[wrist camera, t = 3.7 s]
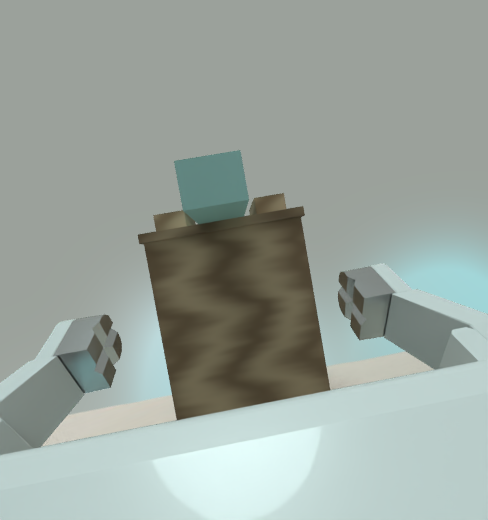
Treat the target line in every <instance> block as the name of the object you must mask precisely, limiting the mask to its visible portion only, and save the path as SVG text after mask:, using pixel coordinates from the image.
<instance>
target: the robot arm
mask: <svg viewBox="0 0 488 520" xmlns="http://www.w3.org/2000/svg"><path fill="white" fill-rule="evenodd" d="M339 283H340V284H341V285H342V287H341V289H340V290H339V291H338V301H339V306H340V309H341V311H342V313H343V315H344V316H345V317H346V318H348V319H350V320H351V325H350V326H351V328H352V329H353V331H354V333H355V334H356V336H357V337H358V339H359V340H364V339H371V338H376V337H383V336H384V338H386V339H388V340H389V341H391V342H392V343H394V344H395V345H397V346H398V347H400V348H402V349H403V350H405V351H406V352H408V353H409V354H411V355H413V356H414V357H416V358H417V359H419V360H420V361H422V362H424V363H425V364H427V365H428V366H430V367H431V368H433V369H435V370H431V371H426V372H421V373H416V374H411V375H406V376H401V377H395V378H390V379H385V380H380V381H375V382H370V383H365V384H360V385H355V386H349V387H344V388H339V389H334V390H329V391H324V392H319V393H314V394H309V395H304V396H298V397H293V398H288V399H283V400H278V401H273V402H268V403H263V404H258V405H253V406H247V407H242V408H237V409H232V410H227V411H222V412H217V413H212V414H207V415H202V416H196V417H191V418H186V419H181V420H176V421H171V422H166V423H161V424H156V425H151V426H145V427H140V428H135V429H130V430H125V431H120V432H115V433H110V434H105V435H100V436H94V437H89V438H84V439H79V440H74V441H69V442H64V443H59V444H54V445H49V446H43V447H41V446H42V445H43V443H44V442H45V441H46V440H47V439H48V437H49V436H50V435H51V434H52V433H53V432H54V430H55V429H56V428H57V427H58V426H59V424H60V423H61V422H62V421H63V420H64V418H65V417H66V416H67V415H68V414H69V413H70V411H71V410H72V409H73V408H74V407H75V405H76V404H77V403H78V402H79V400H80V399H81V398H82V397H83V396H84V393H89V392H93V391H98V390H102V389H107V388H110V387H111V385H112V382H113V378H114V375H115V372H116V369H115V368H114V366H113V365H114V364H115V363H116V362H117V361H118V360H119V359H120V356H121V352H122V343H121V339H120V337H119V334H118V332H116V331H115V330H113V329H111V326H112V323H113V322H112V321H111V319H110V317H109V316H108V315H99V316H92V317H86V318H80V319H76V320H68V321H62V322H60V323H58V324H57V325H56V327H55V328H54V330H53V332H52V333H51V335H50V337H49V338H48V340H47V341H46V343H45V344H44V346H43V347H42V349H41V351H40V352H39V354H38V355H37V357H36V359H35V360H32V361H29V362H28V363H26V364H25V365H24V366H22V367H21V368H20V369H18V370H17V371H16V372H14V373H13V374H12V375H10V376H9V377H8V378H6V379H5V380H4V381H2V382H1V383H0V520H488V314H486V313H483V312H480V311H478V310H475V309H472V308H469V307H466V306H463V305H461V304H458V303H455V302H452V301H449V300H446V299H444V298H441V297H438V296H435V295H432V294H429V293H427V292H424V291H421V290H418V289H415V290H412V289H411V288H410V287H409V286H408V285H407V284H406V283H405V282H404V281H403V280H401V278H400V277H398V276H397V275H396V274H395V273H394V272H393V271H392V270H391V269H390V268H389V267H388V266H387V265H386V264H383V263H382V264H377V265H373V266H368V267H365V268H360V269H354V270H348V271H343V272H341V273H340V275H339Z"/></svg>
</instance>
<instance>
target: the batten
mask: <svg viewBox="0 0 488 520" xmlns="http://www.w3.org/2000/svg"><path fill="white" fill-rule="evenodd" d="M174 163H175V168H176V174H177V180H178V185H179V190H180V196H181V202H182V207H183V211H184V212H185V213H186V214H187V215H188V216H190V217H191V218H192V219H193V220H194V221H195V222H197V223H198V224H203V223H209V222H214V221H220V220H226V219H232V218H238V217H243V216H244V214H245V211H246V208H247V204H248V201H249V198H248V192H247V186H246V180H245V174H244V169H243V164H242V157H241V152H240V150H239V151H233V152H226V153H220V154H214V155H208V156H202V157H196V158H190V159H183V160H177V161H174Z"/></svg>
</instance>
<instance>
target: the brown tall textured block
mask: <svg viewBox="0 0 488 520" xmlns="http://www.w3.org/2000/svg"><path fill="white" fill-rule="evenodd" d="M249 212H250V215H249V216H243V217H238V218H232V219H226V220H220V221H214V222H209V223H203V224H197V225H196V224H195V221H194V220H193V219H192V218H191V217H190V216H188V215H187V214H186V213H185V212H184V211H183V210H182V211H176V212H171V213H164V214H159V215H154V221H155V227H156V232H151V233H145V234H140V235H138V239H139V244H144V246H145V251H146V257H147V262H148V268H149V273H150V278H151V284H152V288H153V294H154V300H155V305H156V311H157V316H158V321H159V327H160V331H161V337H162V343H163V348H164V353H165V359H166V364H167V369H168V375H169V380H170V385H171V391H172V396H173V402H174V407H175V412H176V418H177V420H181V419H186V418H191V417H196V416H202V415H207V414H212V413H217V412H222V411H227V410H232V409H237V408H242V407H247V406H253V405H258V404H263V403H268V402H273V401H278V400H283V399H288V398H293V397H298V396H304V395H309V394H314V393H319V392H324V391H329V390H330V386H329V380H328V374H327V368H326V363H325V357H324V351H323V345H322V339H321V333H320V327H319V321H318V316H317V310H316V304H315V298H314V292H313V286H312V280H311V274H310V269H309V263H308V257H307V251H306V246H305V239H304V233H303V228H302V222H301V217H302V216H304V215H305V214H304V208H303V206H302V207H296V208H290V209H286V204H285V198H284V194H283V193H282V194H276V195H270V196H264V197H258V198H254V200H253V202H252V205H251V208H250V210H249Z"/></svg>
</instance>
